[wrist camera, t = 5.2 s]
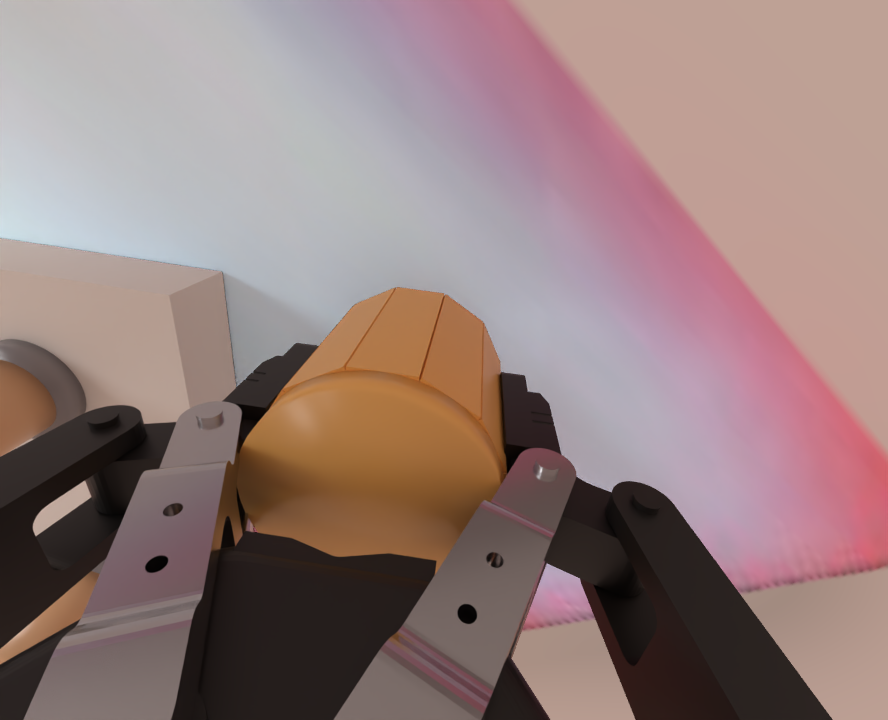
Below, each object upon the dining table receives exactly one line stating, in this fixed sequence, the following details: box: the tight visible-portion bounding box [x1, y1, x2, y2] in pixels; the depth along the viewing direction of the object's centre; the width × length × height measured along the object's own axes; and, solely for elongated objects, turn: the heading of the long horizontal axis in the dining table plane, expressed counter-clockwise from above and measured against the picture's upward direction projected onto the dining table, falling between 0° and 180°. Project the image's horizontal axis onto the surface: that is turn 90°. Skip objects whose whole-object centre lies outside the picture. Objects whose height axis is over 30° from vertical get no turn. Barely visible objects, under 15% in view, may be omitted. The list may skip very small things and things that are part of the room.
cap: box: [237, 287, 507, 574], centre depth 11 cm, size 6×6×6 cm
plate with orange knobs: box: [0, 238, 254, 664], centre depth 17 cm, size 20×12×8 cm, turn 173°
